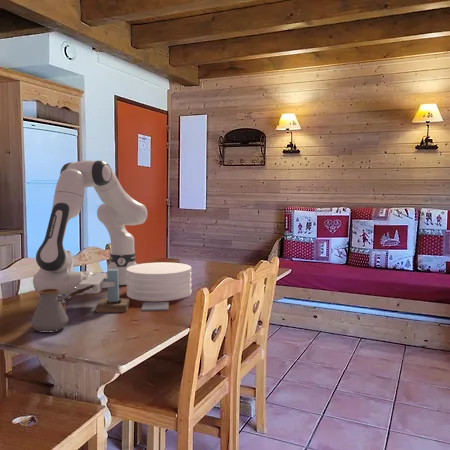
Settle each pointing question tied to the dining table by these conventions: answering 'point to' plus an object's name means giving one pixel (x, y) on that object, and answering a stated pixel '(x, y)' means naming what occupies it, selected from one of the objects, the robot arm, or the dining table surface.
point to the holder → (113, 305)
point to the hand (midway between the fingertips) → (115, 282)
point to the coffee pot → (52, 310)
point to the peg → (114, 291)
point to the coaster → (155, 306)
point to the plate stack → (159, 281)
